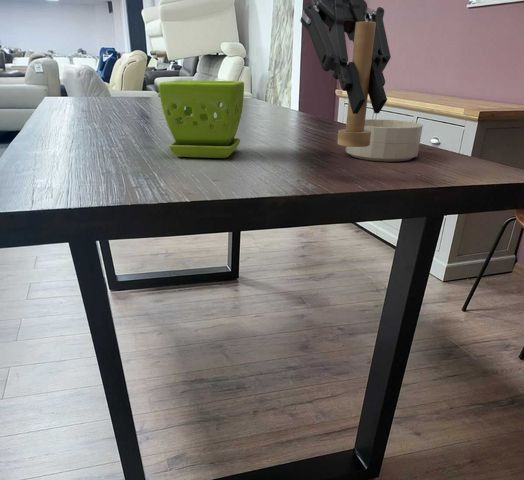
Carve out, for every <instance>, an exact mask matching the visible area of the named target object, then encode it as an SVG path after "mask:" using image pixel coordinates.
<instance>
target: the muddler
mask: <svg viewBox="0 0 524 480" xmlns="http://www.w3.org/2000/svg"><path fill="white" fill-rule="evenodd" d="M375 27H376V22H367V21H366V22H356V25H355V36H354V43H353V47H352V59H351V62H354V64H355V67H356V70H357V74H358V77H359V80H360V84H361V87H362V91H363V94H364V97H365V101H364V103H363V105H362V107H361V108H360V110H359V112H358V114H353V112H352V109H351V105H350V102H349V100H348V104H347V112H346V113H347V114H346V121H345V123H346V124H345V128H341V129H338V131H337V132H338V133H337V145H339V146H341V147H346V146H348V147H366V146H369V145H370V138H371V131H369V130H364V127H365V119H366V117H367V107H368V100H369V99H368V98H369V94H368V90H369V81H370V72H371V63H372V54H373V45H374V36H375Z"/></svg>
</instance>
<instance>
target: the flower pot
mask: <svg viewBox="0 0 524 480" xmlns="http://www.w3.org/2000/svg"><path fill="white" fill-rule="evenodd" d="M158 93H159V99H160V104H161V108H162V112H163V116H164V118H165V121H166V125H167V127H168V129H169V131H170V134H171V135H172V137H173V140H174V141H173V142H172V143H169V144H168V147H169V150H170V151H171V152H172V154H173V155H175V156H176V158H204V159H205V158H208V159H227V158H228V157H230V155H232V153H233V152H235V150H236V149H237V148H238V146H239V145H240V143H241V138H238V137H236V135H237V132H238V129H239V125H240V123H241V122H240V121H241V117H242V112H243V107H244V98H245V95H244V94H245V82H244V81H243V80H166V81H161V82H160V81H159V83H158ZM215 114H216V117H215Z"/></svg>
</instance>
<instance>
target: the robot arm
mask: <svg viewBox="0 0 524 480" xmlns="http://www.w3.org/2000/svg"><path fill="white" fill-rule="evenodd" d="M311 3H312V4H311ZM311 3H305V4H304V8H303V10H302V14H301V17H300V23H301V24H302V25H303V27H304V28H305V29H306V30H307V32H308V35H309V37H310V40H311V43H312V45H313V48H314V50H315V53H316V55H317V58H318V61H319V64H320V66H321V69H322V70H323V72H330V71H332V72H333V74H332V78H333V79H335V80H338V81H339V85H340V89H341V90H342V91H343V92H346V95H347V98H348V101H349V102H350V105H351V109H352V112H353V114H358V112H359V110H360V108H361V107H362V105H363V103H364V101H365V97H364V94H363V91H362V87H361V84H360V80H359V77H358V74H357V70H356V67H355V64H354V62H352V61H349V55H348V54H349V53H348V46H347V41H346V35H347V38H348V40H349V41H352V43H353V44H354V36H355V25H356V22H376V27H375V36H374V45H373V54H372V63H371V72H370V81H369V90H368V98H369V100H370V103H371V107H372V110H373V114H380V113H381V110H382V109H383V107H384V106H385V105H386V103H387V102H388V98H387V93H386V92H385V88H384V86H385V84H386V79H385V76H384V70H385V69H386V67H387V65H388V63H389V62H390V60H391V58H392V55H391V51H390V47H389V42H388V37H387V34H386V28H385V23H384V15H385V9H384V8H383V7H381V6H379V7H377V8H376V10H374V9H371V8H369V7H368V3H367V1H366V0H311ZM326 29H327V30H326Z"/></svg>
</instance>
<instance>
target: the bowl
mask: <svg viewBox="0 0 524 480" xmlns="http://www.w3.org/2000/svg"><path fill="white" fill-rule="evenodd" d="M423 128H424V125H423V124H422V123H419V122H415V121H409V120H397V119H377V118H376V119H375V118H374V119H373V118H371V119H369V118H367V119H366V118H365V127H364V130H369V131H371V138H370V145H369V146H366V147H348V146H345V149H344V150H345V151H344V152H346V154H349V156H351V157H352V158H355V159H360V160H364V161H374V162H406V161H410V160H412V159H414V158H417V157H418V155H419V151H420V145H421V139H422V134H423Z"/></svg>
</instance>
